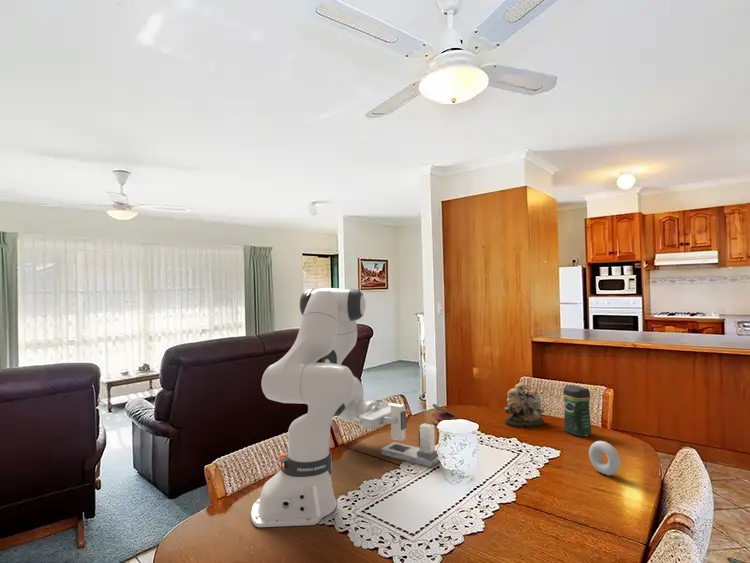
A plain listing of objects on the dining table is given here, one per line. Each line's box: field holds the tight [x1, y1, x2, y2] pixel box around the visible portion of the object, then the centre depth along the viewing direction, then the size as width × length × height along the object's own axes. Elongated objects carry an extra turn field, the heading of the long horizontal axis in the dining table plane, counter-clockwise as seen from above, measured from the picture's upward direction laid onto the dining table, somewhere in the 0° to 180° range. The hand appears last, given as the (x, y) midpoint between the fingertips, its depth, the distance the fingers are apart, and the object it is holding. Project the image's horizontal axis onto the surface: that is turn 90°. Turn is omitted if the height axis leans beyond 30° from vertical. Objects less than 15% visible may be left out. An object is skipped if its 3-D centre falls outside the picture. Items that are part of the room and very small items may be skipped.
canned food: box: [431, 403, 456, 426], centre depth 184 cm, size 11×10×10 cm
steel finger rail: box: [380, 422, 440, 468], centre depth 147 cm, size 20×8×12 cm, turn 53°
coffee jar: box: [562, 384, 592, 437], centre depth 167 cm, size 10×8×19 cm
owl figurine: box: [503, 382, 545, 428], centre depth 181 cm, size 18×12×17 cm, turn 103°
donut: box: [588, 440, 621, 476], centre depth 131 cm, size 10×3×10 cm, turn 23°
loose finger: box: [390, 402, 407, 442], centre depth 151 cm, size 5×3×12 cm, turn 53°
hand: (400, 419), depth 150 cm, fingers closed on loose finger, 3 cm apart
